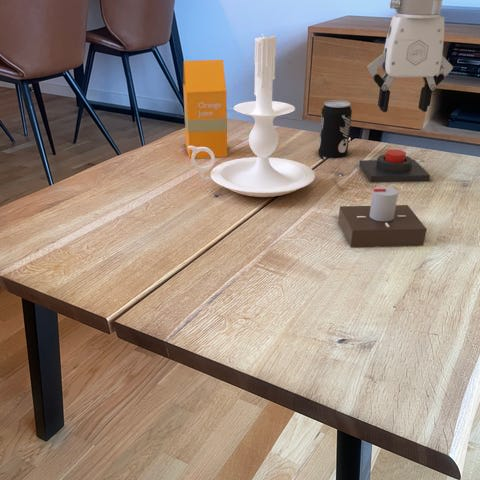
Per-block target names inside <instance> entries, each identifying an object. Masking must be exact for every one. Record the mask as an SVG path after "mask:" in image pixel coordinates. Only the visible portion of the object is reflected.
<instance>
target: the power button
mask: <svg viewBox="0 0 480 480" xmlns="http://www.w3.org/2000/svg"><path fill="white" fill-rule="evenodd" d="M385 154H386V156H385V160H386V161H388V162H395V163H402V162H405V157H406V156H407V152H406V151H404V150H400V149H388V150H386V152H385Z"/></svg>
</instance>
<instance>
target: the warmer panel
mask: <svg viewBox="0 0 480 480" xmlns="http://www.w3.org/2000/svg"><path fill="white" fill-rule="evenodd" d="M370 208H371V205H340V206H339V211H338V219H337V222H338V225H339V227H340V229H341V231H342V233H343V235H344V237H345V239H346V241H347V244H348V245H349V247H350V248H380V247H381V248H383V247H389V248H390V247H424V245H425V241H426V240H425V239H426V234H427V227H426V226H425V225H424V223H423V222H422V221H421V220H420V219H419V217H418V216H417V215H416V213H415V212H414V211H413V210H412V208H411V207H410V206H409V205H408V204H396V208H395V214H394V219H393V220H391V221H386V222H383V221H376V220H373V219H372V218H370V216H369V215H370Z"/></svg>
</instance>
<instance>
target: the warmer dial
mask: <svg viewBox="0 0 480 480" xmlns="http://www.w3.org/2000/svg"><path fill="white" fill-rule="evenodd" d="M398 196H399V191H398V190H397V189H396V188H394V187H391V186H377V187H374V188H373V189H372V194H371V201H370V206H371V208H370V215H369V216H370V218H372V219H373V220H376V221H383V222H386V221H391V220H393V219H394V214H395V208H396V205H397V202H398Z"/></svg>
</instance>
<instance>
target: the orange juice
mask: <svg viewBox="0 0 480 480" xmlns="http://www.w3.org/2000/svg"><path fill="white" fill-rule="evenodd" d="M182 78H183V79H182V80H183V81H182V82H183V83H182V87H183V88H182V89H183V105H184V106H183V108H184V109H183V110H184V112H183V113H184V124H185V125H184V126H185V127H184V128H185V147H186V151H187V154H188V155H187V156H188V158H189V159H190V160H191V157H192V153H193V151H192V150H191V149H189V148H188V146H194V147H207V148H209V149H210V150H211V151H212V152H213V154H214V157H215V158H227V157H228V117H227V116H228V111H227V110H228V109H227V107H228V106H227V103H228V102H227V101H228V100H227V99H228V98H227V86H226V75H225V66H224V59H203V60H202V59H201V60H200V59H199V60H183V77H182ZM195 159H211V156H210V154H209V153H207V152H205V151H200V152H198V153H197V154H196V155H195Z"/></svg>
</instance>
